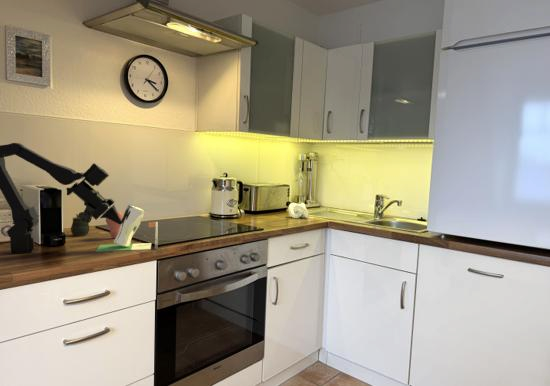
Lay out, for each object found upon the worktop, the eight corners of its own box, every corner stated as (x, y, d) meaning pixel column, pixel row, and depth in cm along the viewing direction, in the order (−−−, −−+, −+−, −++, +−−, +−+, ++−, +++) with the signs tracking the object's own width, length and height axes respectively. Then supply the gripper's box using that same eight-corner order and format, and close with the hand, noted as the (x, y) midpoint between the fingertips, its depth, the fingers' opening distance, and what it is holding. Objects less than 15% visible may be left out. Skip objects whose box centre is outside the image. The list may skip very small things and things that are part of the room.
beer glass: (108, 240, 144) (123, 203, 145) (120, 241, 151) (135, 205, 152) (122, 247, 142) (137, 209, 143) (134, 247, 149) (149, 212, 149)
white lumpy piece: (312, 217, 235) (313, 203, 234) (300, 219, 226) (300, 204, 225) (297, 215, 242) (298, 201, 241) (285, 217, 233) (286, 203, 232)
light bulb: (103, 237, 163) (102, 210, 162) (119, 235, 168) (119, 208, 167) (109, 240, 158) (109, 211, 157) (126, 238, 163) (126, 210, 162)
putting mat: (95, 251, 140) (95, 227, 139) (100, 245, 149) (99, 222, 148) (157, 249, 146) (157, 225, 145) (157, 243, 155) (157, 221, 154)
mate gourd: (90, 233, 173) (89, 211, 172) (88, 236, 166) (88, 213, 165) (72, 234, 170) (71, 211, 169) (69, 237, 163) (69, 214, 162)
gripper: (77, 207, 150) (108, 234, 154) (65, 214, 132) (101, 244, 136) (98, 187, 151) (129, 214, 155) (90, 191, 133) (124, 221, 137)
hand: (121, 223), depth 146 cm, fingers closed
